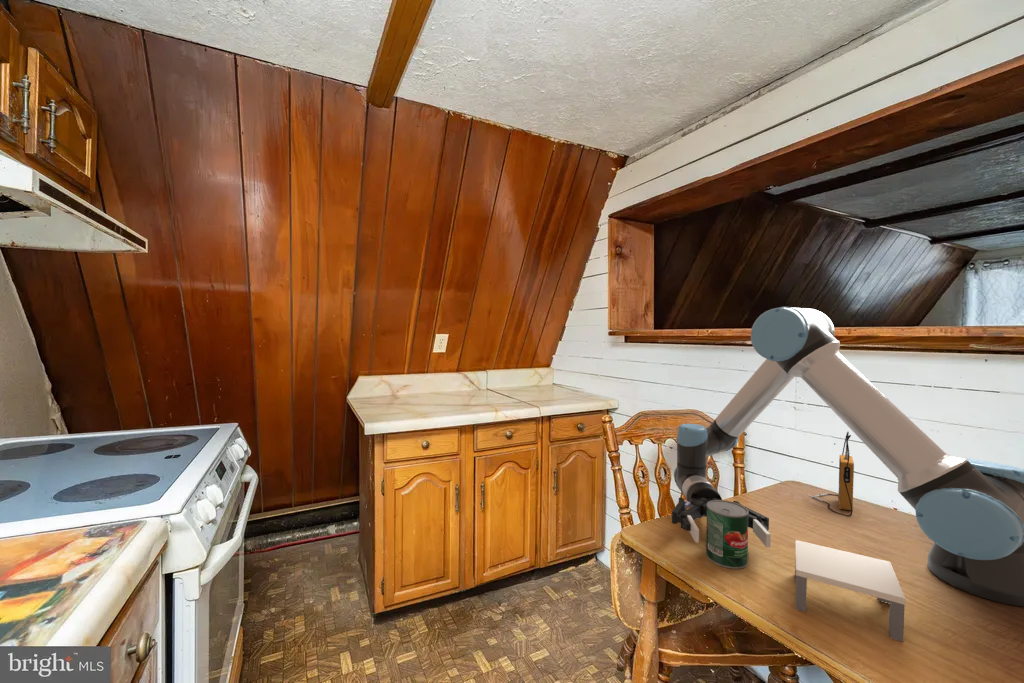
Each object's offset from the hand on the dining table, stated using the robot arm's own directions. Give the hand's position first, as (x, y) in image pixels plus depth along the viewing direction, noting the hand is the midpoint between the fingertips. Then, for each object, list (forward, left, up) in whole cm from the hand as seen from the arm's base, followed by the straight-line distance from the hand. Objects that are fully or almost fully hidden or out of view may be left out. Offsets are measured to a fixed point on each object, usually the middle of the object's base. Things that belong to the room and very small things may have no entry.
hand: (732, 538), depth 85 cm
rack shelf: (-18, +2, -6) cm, 19 cm away
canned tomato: (+1, -3, -6) cm, 7 cm away
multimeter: (-19, -49, -6) cm, 53 cm away
